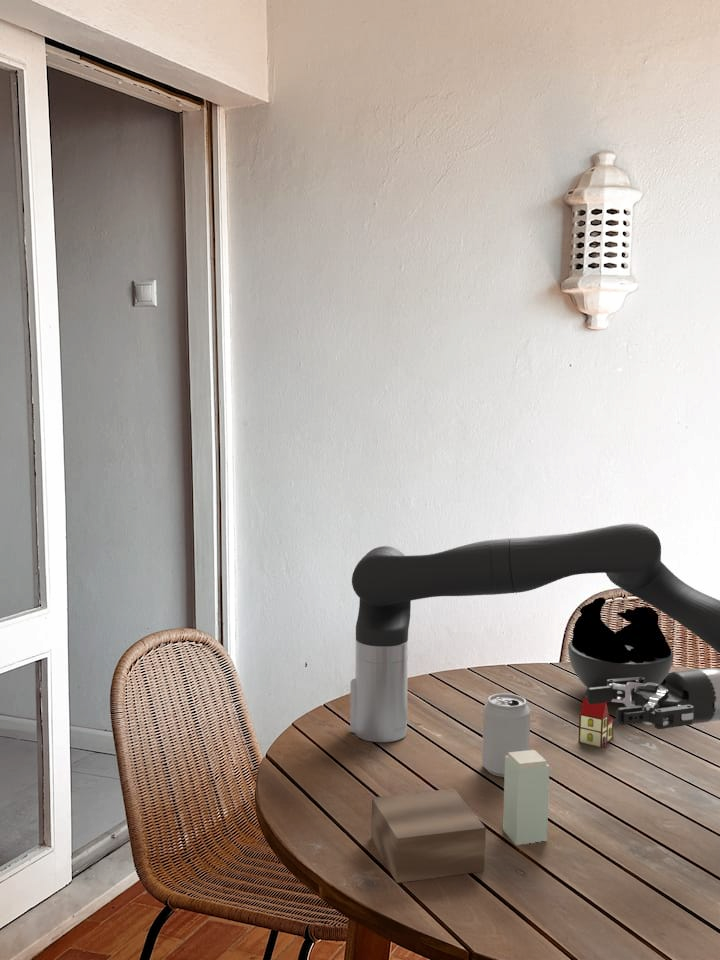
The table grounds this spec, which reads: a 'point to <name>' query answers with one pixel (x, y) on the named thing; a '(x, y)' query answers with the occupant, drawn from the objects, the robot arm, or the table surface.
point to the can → (504, 730)
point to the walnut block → (427, 835)
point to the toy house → (595, 724)
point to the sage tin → (526, 797)
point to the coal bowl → (618, 647)
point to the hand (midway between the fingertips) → (601, 706)
